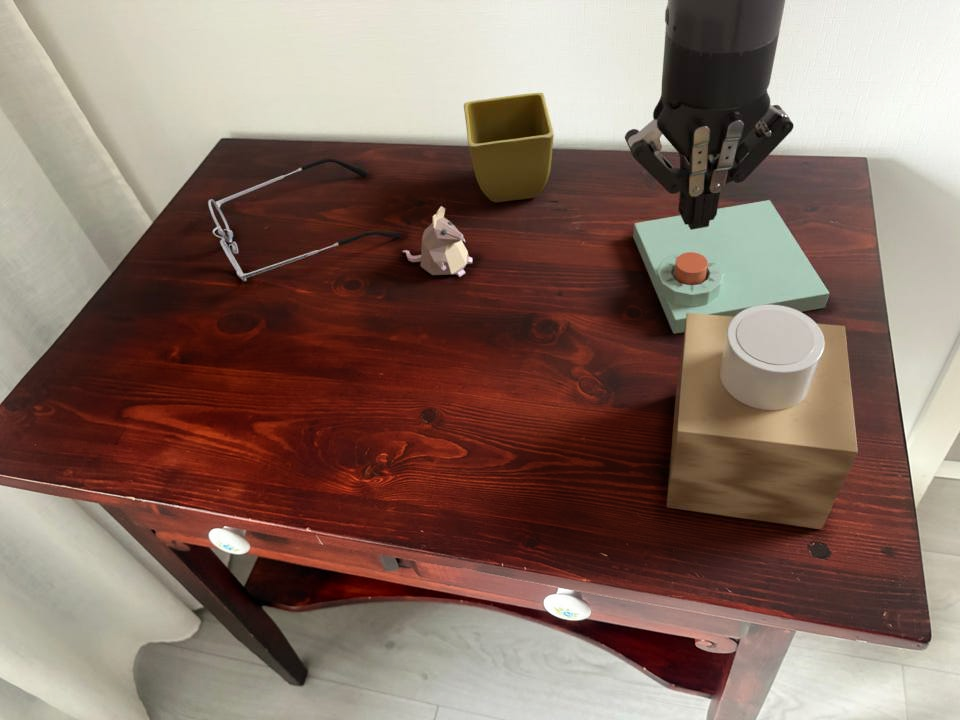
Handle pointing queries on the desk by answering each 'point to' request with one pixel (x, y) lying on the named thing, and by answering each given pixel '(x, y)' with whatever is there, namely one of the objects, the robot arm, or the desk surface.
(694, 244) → the scale
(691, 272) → the button
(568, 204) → the desk surface
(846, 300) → the desk surface
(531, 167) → the flower pot
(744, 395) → the ramekin
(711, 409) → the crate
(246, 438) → the desk surface
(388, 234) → the eyeglasses
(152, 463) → the desk surface
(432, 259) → the mouse figurine
